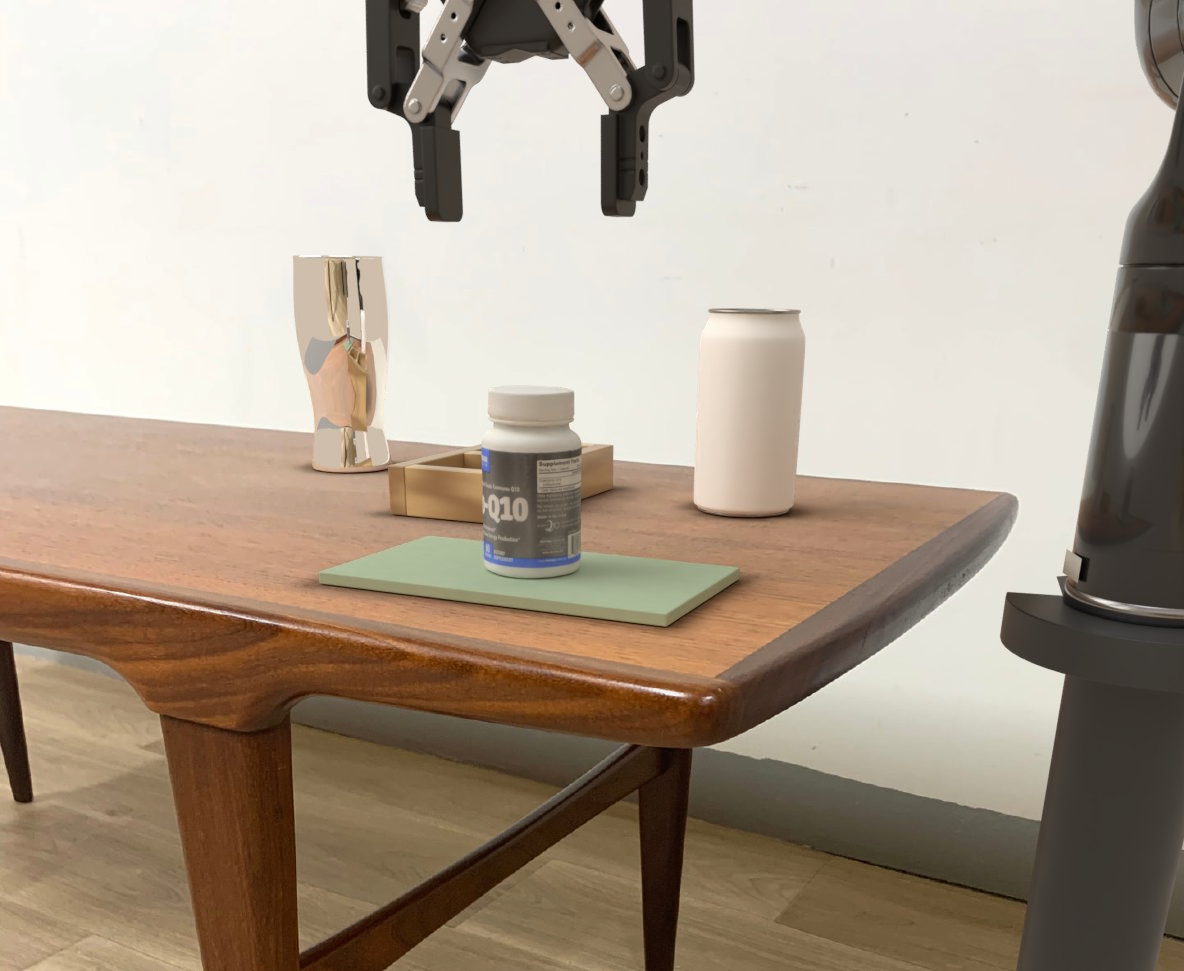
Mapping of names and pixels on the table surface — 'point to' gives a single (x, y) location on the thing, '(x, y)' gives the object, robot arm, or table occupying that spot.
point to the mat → (539, 581)
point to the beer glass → (344, 357)
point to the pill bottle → (531, 483)
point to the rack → (472, 482)
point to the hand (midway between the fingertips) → (528, 219)
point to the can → (748, 411)
